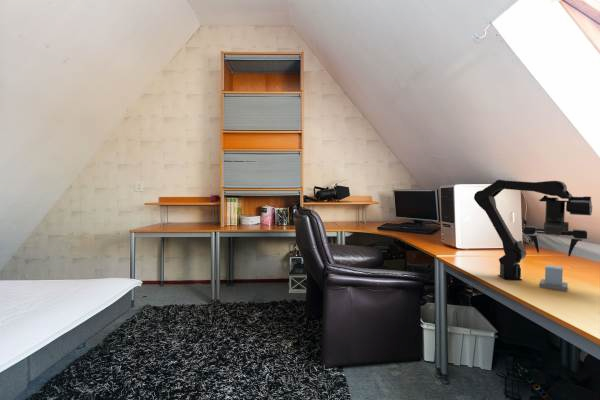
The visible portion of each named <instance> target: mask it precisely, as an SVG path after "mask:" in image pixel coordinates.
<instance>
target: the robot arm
mask: <svg viewBox="0 0 600 400" xmlns="http://www.w3.org/2000/svg"><path fill="white" fill-rule="evenodd" d="M503 190H511V191H513V190H514V191H515V190H516V191H525V192H535V193H537V194H538V193H539V194H543V197H541V198H540V199H539V202H545V213H544V214H545V215H544V217H545V218H544V223H543V228H538V226H531V225H526V226H524V227H523V232H522V233H523V234H524V235H527V237H530V238H531V240H532V242H533V244H534V246H535V247H534V248H535V249H536V253H537V254H540V241H539V234H543V235H544V234H545V235H555V236H569V237H570V236H571V238H570V244H569V249H568V253H567V254H568V255H567V256H568V257H571V254H572V252H573V250H574V248H575V246H576V245H577V244H578V242H579V241H580V242H582V241H583V239H585V240H587V239H588V230H587V229H586V230H585V229H577V228H573V230H569V227H570V225H569V223H570V222H569V221H565V214H566V212H567V213H569V214H570V215H573V216H574V215H575V216H591V217H592V215H593V214H592V213H593V205H592V197H591V196H573V195H572V193H571V192H569V191H568V187H567V184H565V182H564V181H560V180H546V181H536V182H535V181H534V182H533V181H522V180H521V181H518V180H517V181H516V180H505V179H496V181H494V182H493V183H492V184H491V183H490V185H488V186H487V187H485V188H484V189H482V190H477V191H476V192H475V193H474V195H473V200H474V201H475V202H476V203H477V205H478V206H479V207H480V208H481V209H482V210H483V211H484V212H485V213H486V215H487V217H488V218H489V221H490V222H491V224H492V226H493V228H494V229H495V231H496V233H497V235H498V237H499V238H500V240H501V242H502V249H503V252H504V255H503V256H501V257H499V258H498V261H499V274H497V276H498V277H499V278H501V279H503V280H505V281H523V279H522V268H521V264H520V263H521V261H522V260H524V259H525V258H526V257H527V248H526V247H525V246H524V244H523V241H522V240H516V239H515V238H514V236H513V234H512V232H511V231H510V229H509V227H508V225H507V224H506V221H505V220H504V218H503V217H502V215H501V213H500V211H499V209H498V208H497V202H496V198H495V197H496V196H497V195H499V194H500V193H501V192H502V191H503ZM550 196H551V197H550ZM559 198H560V199H562V200H559ZM566 199H567V200H566ZM565 211H566V212H565Z"/></svg>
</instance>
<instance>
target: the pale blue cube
mask: <svg viewBox="0 0 600 400" xmlns="http://www.w3.org/2000/svg"><path fill="white" fill-rule="evenodd" d="M544 268H545V274H544V279H545V283H548V284H554V285H561V286H562V282H563V278H564V277H563V276H564V275H563V273H564V272H563V269H564V267H563V266H557V265H549V264H546V265H545V267H544Z"/></svg>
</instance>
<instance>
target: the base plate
mask: <svg viewBox="0 0 600 400" xmlns="http://www.w3.org/2000/svg"><path fill="white" fill-rule="evenodd" d="M568 285H569V282H565V281H562V286H561V285H554V284H548V283H545V278H541V279H540V281H539V288H544V289H548V290H555V291H563V292H568V287H569V286H568Z"/></svg>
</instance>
